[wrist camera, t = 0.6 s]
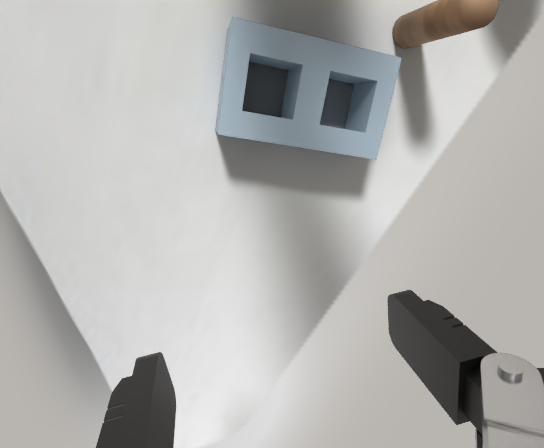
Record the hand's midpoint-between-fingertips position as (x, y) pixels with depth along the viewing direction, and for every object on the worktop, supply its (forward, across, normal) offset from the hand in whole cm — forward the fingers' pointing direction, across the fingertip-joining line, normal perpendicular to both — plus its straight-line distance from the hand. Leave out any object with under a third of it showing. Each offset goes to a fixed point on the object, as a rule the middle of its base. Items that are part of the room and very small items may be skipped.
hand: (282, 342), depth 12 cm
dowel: (+27, -20, -11) cm, 35 cm away
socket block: (+26, -8, -7) cm, 29 cm away
